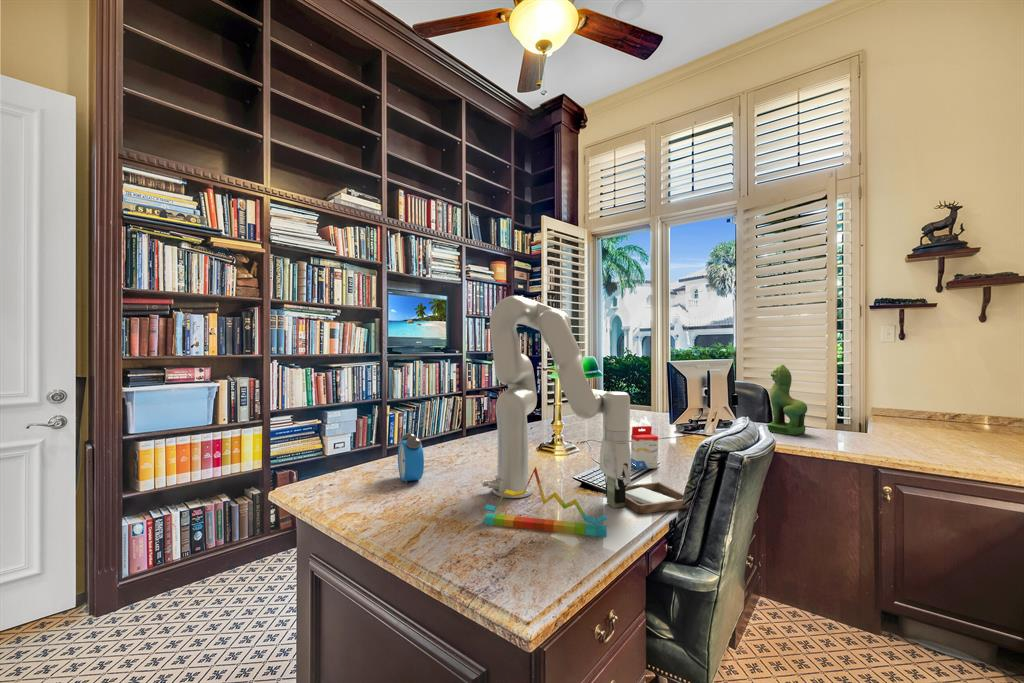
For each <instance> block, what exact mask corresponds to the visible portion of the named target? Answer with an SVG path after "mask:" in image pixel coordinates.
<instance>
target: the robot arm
mask: <svg viewBox="0 0 1024 683" xmlns="http://www.w3.org/2000/svg"><path fill="white" fill-rule="evenodd" d="M571 320H572V319H571V318H570V316H569V315H568V314H567V313H566V311H564V310H560V309H557V308H554V307H551V306H549V305H546V304H544V303H541V302H539V301H536V300H534V299H530V298H527V297H524V296H521V295H509V296H506V297H505V298H502V299H501V300H499V302H497V303H496V304H495V306H494V307H493V309H492V311H491V313H490V317H489V330H490V337H491V346H492V347H491V348H492V356H493V364H494V365H493V366H494V372H495V373H494V374H495V376H496V379H497V380H498V381H499V382H500V383H501V384H503V385H507V389H506V390H504V391H503V392H501V394H499V396H498V397H497V399H496V402H495V416H496V425H497V426H496V427H497V467H496V468H497V474H496V475H494V477H493V478H491V479H483V480H482V479H481V486H482V487H483V488H484V487H485V488H488V489H492V490H491V491H492V493H493V494H494V495H496V496H498V497H500V498H501V497H502V495H503V494H504V492H505V491H506V489H508V490H511V491H515V492H517V491H521V490H525V488H526V486H527V484H528V482H529V443H530V442H529V439H530V438H529V423H528V415H530V414H531V413H532V412H534V410H535V408H536V407H537V402H538V395H537V387H536V379H535V372H534V367H533V364H532V361H531V360H530V358H529V357H528V356H527V355H526V354H524V353H522V352H521V346H520V344H521V343H520V337H519V334H518V331H517V326H518V325H523V326H526V327H529V328H531V329H534V330H537V331H539V332H540V335H541V336H542V337H541V338H542V340H543V341H544V344H545V345H546V347H547V350H548V352H549V354H550V356H551V358H552V361H553V363H554V364H555V365H554V366H555V369H556V373H557V376H558V380H559V383H560V386H561V388H562V392H563V394H564V396H565V399H566V400H567V402H568V404H569V406H570V408H571V410H572V411H573V413H574V414H575V415H576V416H577V417H578V418H581V419H583V420H589V419H592V418H594V417H596V416H597V415H602V439H601V443H600V449H599V465H598V466H599V470H600V472H602V474H603V475H604V482H605V497H606V498H607V475H608V476H610V477H611V478H613V479H615V483H616V489H614V502H615V503H616V504H617V503H625V492H626V488H627V485H631V483H632V481H631V480H632V479H631V474H632V466H631V445H630V443H631V439H630V438H631V434H630V432H631V430H630V429H631V428H630V426H631V425H630V424H631V423H630V422H631V421H630V419H631V397H630V394H629V393H628V392H625V391H619V390H618V391H616V390H614V391H613V390H612V391H611V390H610V391H605V390H600V389H595V388H594V389H593V388H591V385H590V383H589V381H588V379H587V376H586V374H585V370H584V366H583V365H584V364H583V359H584V358H583V352H582V349H581V348H580V346H579V344H578V342H577V340H576V338H575V336H574V334H573V332H572V330H571V327H572V321H571ZM619 480H622V481H621V482H620V483H619ZM533 492H534V487H533V486H532V485H531V484H530V483H529V484H528V487H527V489H526V491H525V493H524V494H522V495H518V496H514V497H513V496H509V495H506V494H504V496H503V498H506V499H521V498H526V497H529V496H531V495H532V494H533Z"/></svg>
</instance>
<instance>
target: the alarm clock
mask: <svg viewBox="0 0 1024 683" xmlns="http://www.w3.org/2000/svg"><path fill="white" fill-rule="evenodd" d="M424 462H425V456H424V449H423V445H422V441H421V439H420V437H417V435H415V433H414V432H413V433H412V432H407V433H405V434H403V435H402V437H401V440H400V441H399V443H398V449H397V466H398V474H399V477H400V480H401V481H402V482H404V483H405V485H407V484H408V482H412V481H419V480H421V479H422V478H423V475H424V472H425V471H424V470H425V468H424V467H425V463H424Z"/></svg>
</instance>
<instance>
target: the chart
mask: <svg viewBox="0 0 1024 683" xmlns="http://www.w3.org/2000/svg"><path fill="white" fill-rule="evenodd" d="M533 475H534V476H535V479H536V482H537V486H538V487H537V488H538V490H539V493H540V497H541V501H542V504H543V505H545V504H547V503H548V502H549V501H551V500H552V499H553V498H554V499H555V501H557V502H558V503H559V505H560V506H561V508H563V510H566V509H568V508H569V507H572V506H573V505H575V507H576V509H577V510H578V512H579V514H580V515H581V517H582V519H583V521H585V522H577V521H568V520H567V521H566V520H557V519H547V518H540V517H538V518H537V517H529V516H517V515H509V514H500V513H495V512H496V511H497V509H498V507H499V506H500V504H501V501H502V500H503V498H504V497H503V496H504V494H506V495H509V496H513V497H514V496H518V495H522V494H524V493H525V491H526V489H527V487H528V484H529V485H530V482H531V480H532V477H533ZM528 484H527V486H526V488H525V490H521V491H517V492H515V491H511V490H508V489H506V491H505V492H504V494H503V495H502V497H500V499H499V500H498V503H497V505H496V506H495V505H490V504H486V506H485V507H484V511H489V512H492V513H489V512H487V513H486V514H485V516H484V518H483V521H484V522H483V523H484V525H491V526H499V527H500V526H501V527H511V528H519V529H528V530H535V531H536V530H537V531H548V532H555V533H557V532H558V533H564V534H566V533H567V534H575V535H576V534H577V535H583V536H584V535H585V536H593V537H603V538H606V537H607V532H608V531H607V530H608V529H607V526H608V525H605V524H600V523H602V522H604V521H607V515H608V514H604V515H602V516H599V517H597V518H596V517H591V516H590V515H589V516H588V515H586V514H585V512H584V511H583V509H582V507H581V505H580V504H579V502H578V501H577V499H576V498H575V499H573V500H570V501H569V502H567V503H566V502H564V500H563V499H562V498H561V496H559V495H558V492H556V491H555V492H553V493H552V494H551V495H549V496H548V497H547V498H546V497H545V494H544V491H543V488H542V484H541V481H540V478H539V473H538V469H537V467H534V469H533V471H532V474H531V475H530V478H529V479H528Z"/></svg>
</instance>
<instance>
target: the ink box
mask: <svg viewBox="0 0 1024 683" xmlns="http://www.w3.org/2000/svg"><path fill="white" fill-rule="evenodd" d="M652 430H653V428H652V426H651V425H646V426H645V425H644V426H642V425H640V426H639V425H638V426H632V427H631V434H630V438H631V439H630V455H631V467H634V469H637V470H640V469H641V470H642V469H643V470H644V469H658V463H659V462H658V458H659V457H658V456H659V453H658V452H659V451H658V450H659V446H658V445H659V436H658V435H655V434H653V433H652ZM632 463H633V464H635V465H636V466H635V465H633V464H632Z"/></svg>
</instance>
